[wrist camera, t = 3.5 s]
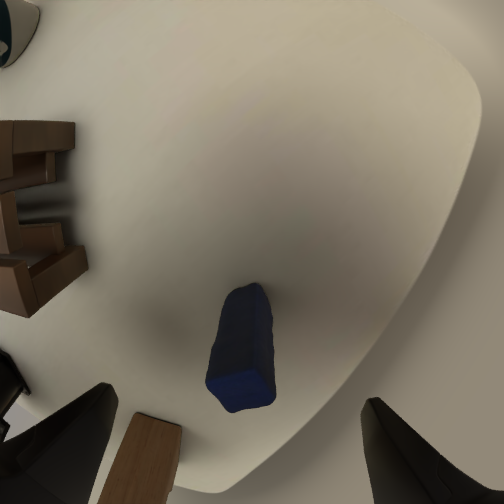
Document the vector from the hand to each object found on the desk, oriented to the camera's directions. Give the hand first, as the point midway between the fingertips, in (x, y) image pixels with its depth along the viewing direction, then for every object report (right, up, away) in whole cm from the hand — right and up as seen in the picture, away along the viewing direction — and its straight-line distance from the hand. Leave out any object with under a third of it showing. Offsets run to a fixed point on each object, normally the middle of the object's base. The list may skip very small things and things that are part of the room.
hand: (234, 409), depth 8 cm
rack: (-18, +9, +6) cm, 21 cm away
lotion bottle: (-17, +22, +1) cm, 28 cm away
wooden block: (-9, -13, +13) cm, 21 cm away
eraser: (+1, +3, +7) cm, 8 cm away
